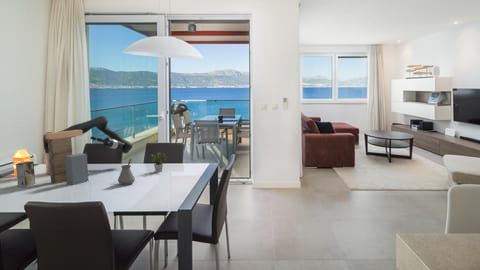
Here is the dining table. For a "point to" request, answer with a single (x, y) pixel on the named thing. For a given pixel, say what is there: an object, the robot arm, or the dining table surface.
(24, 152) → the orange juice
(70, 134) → the block
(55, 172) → the stand
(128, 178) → the coffee pot
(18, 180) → the coffee box
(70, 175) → the pedestal
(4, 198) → the dining table surface
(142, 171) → the dining table surface
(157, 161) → the house plant
